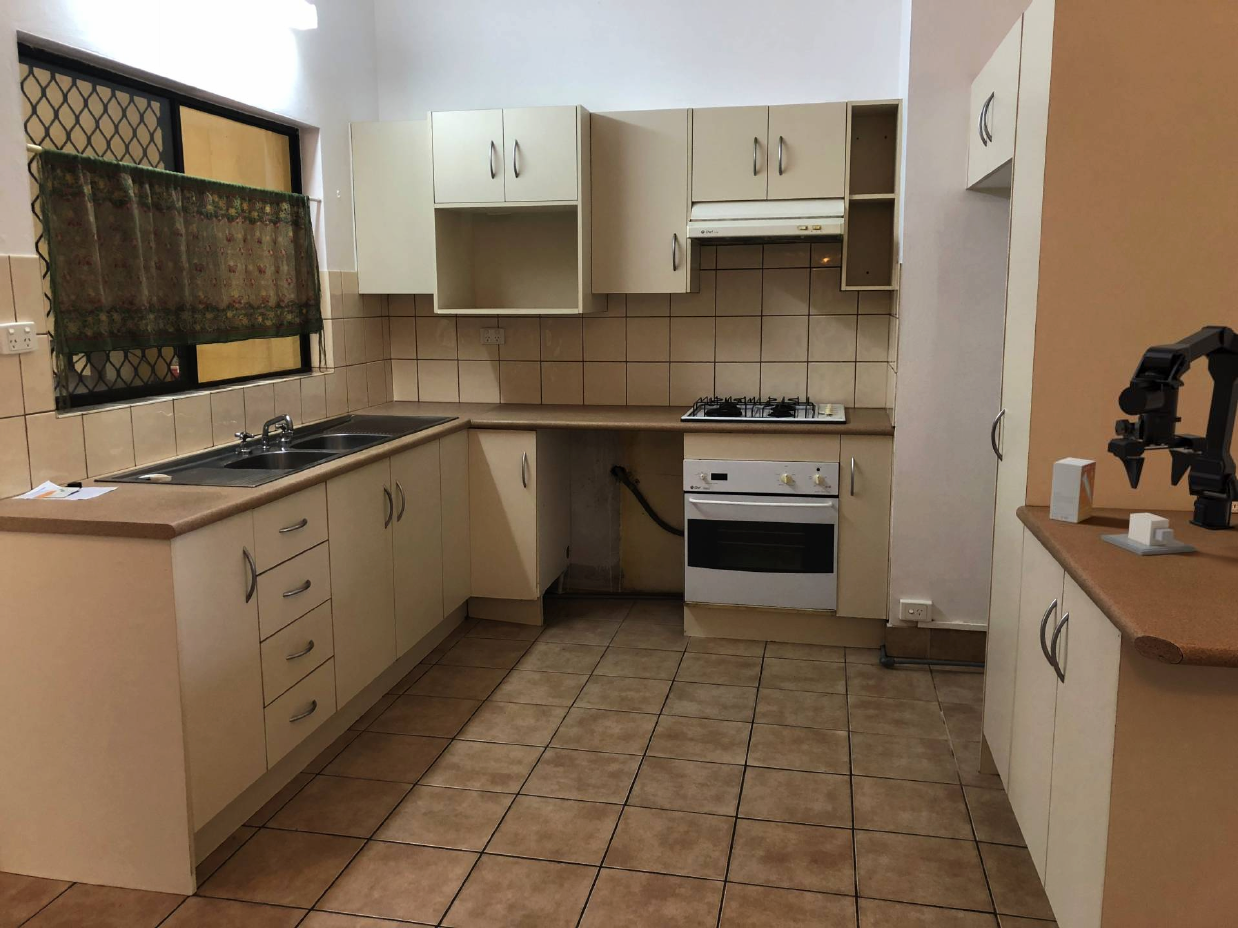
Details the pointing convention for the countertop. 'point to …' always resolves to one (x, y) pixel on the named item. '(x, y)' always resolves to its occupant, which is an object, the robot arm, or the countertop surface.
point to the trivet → (1146, 549)
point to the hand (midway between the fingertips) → (1153, 487)
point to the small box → (1072, 489)
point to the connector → (1149, 529)
